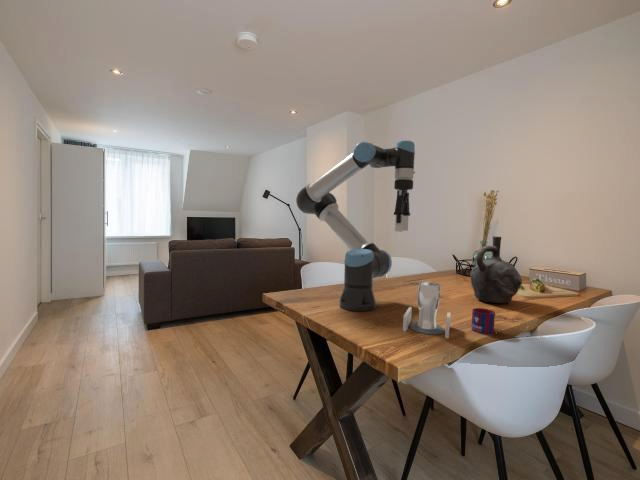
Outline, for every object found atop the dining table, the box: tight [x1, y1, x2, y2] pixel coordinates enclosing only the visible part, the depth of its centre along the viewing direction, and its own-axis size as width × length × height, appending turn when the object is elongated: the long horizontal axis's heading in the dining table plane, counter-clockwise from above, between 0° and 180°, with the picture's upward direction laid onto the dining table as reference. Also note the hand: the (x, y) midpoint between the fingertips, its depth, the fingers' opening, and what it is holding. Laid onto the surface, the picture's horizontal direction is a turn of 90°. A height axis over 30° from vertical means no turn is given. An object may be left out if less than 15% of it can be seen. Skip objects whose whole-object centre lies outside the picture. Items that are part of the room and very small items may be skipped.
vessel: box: [469, 236, 523, 304], centre depth 146 cm, size 24×22×30 cm
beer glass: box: [417, 281, 441, 331], centre depth 107 cm, size 7×7×15 cm
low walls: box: [402, 306, 452, 339], centre depth 108 cm, size 14×12×5 cm
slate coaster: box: [409, 321, 445, 336], centre depth 108 cm, size 11×11×1 cm
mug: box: [471, 307, 496, 335], centre depth 108 cm, size 7×10×7 cm
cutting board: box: [514, 278, 579, 299], centre depth 171 cm, size 35×23×8 cm
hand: (401, 231), depth 134 cm, fingers open, 13 cm apart
